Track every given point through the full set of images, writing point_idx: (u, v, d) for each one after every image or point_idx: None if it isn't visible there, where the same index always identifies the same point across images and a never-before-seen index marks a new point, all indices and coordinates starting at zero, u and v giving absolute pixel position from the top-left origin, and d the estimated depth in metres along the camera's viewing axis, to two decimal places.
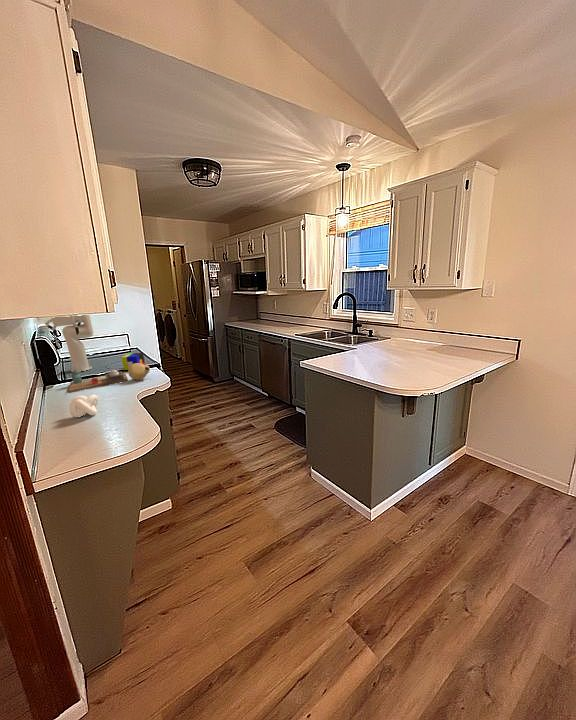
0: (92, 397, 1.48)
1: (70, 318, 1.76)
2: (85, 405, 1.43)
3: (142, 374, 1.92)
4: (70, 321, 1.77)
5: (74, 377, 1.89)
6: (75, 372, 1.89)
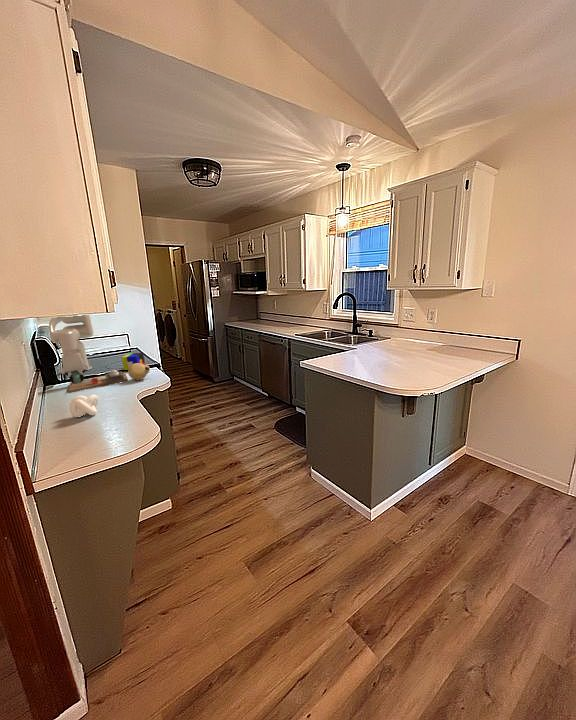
0: (92, 397, 1.48)
1: (80, 364, 1.89)
2: (85, 405, 1.43)
3: (142, 374, 1.92)
4: (80, 367, 1.89)
5: (74, 377, 1.89)
6: (75, 372, 1.89)
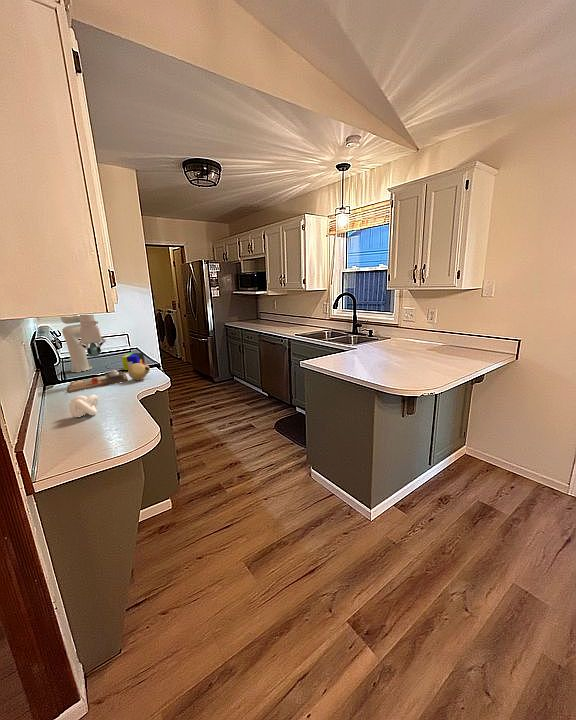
0: (92, 397, 1.48)
1: (97, 336, 1.91)
2: (85, 405, 1.43)
3: (142, 374, 1.92)
4: (97, 339, 1.91)
5: (91, 349, 1.91)
6: (92, 344, 1.91)
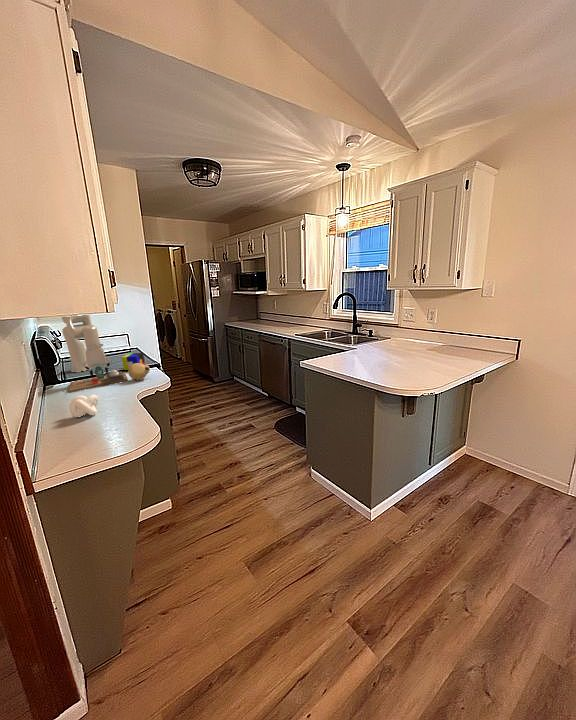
0: (92, 397, 1.48)
1: (102, 358, 1.94)
2: (85, 405, 1.43)
3: (142, 374, 1.92)
4: (102, 361, 1.95)
5: (97, 373, 1.95)
6: (98, 368, 1.95)
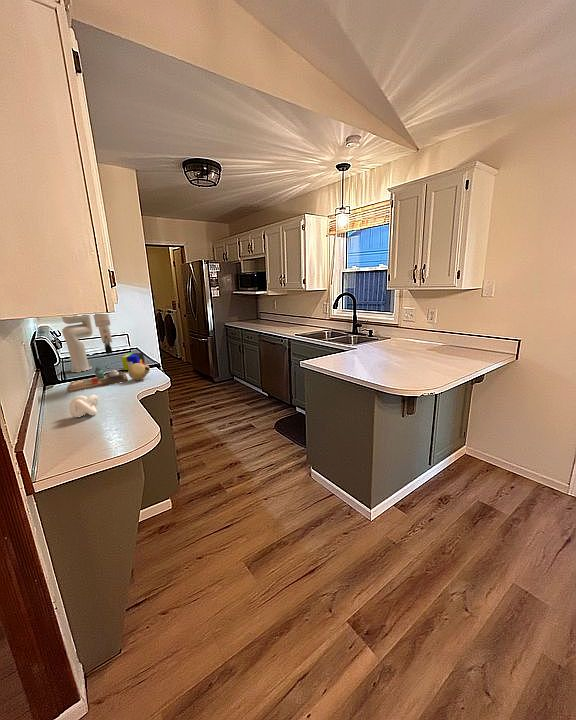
0: (92, 397, 1.48)
1: (101, 337, 1.84)
2: (85, 405, 1.43)
3: (142, 374, 1.92)
4: (102, 340, 1.85)
5: (97, 373, 1.95)
6: (98, 368, 1.95)
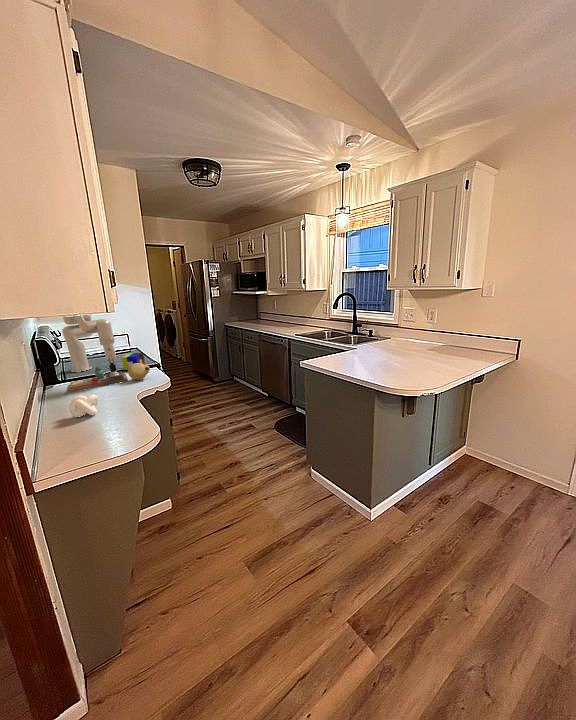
0: (92, 397, 1.48)
1: (105, 355, 1.87)
2: (85, 405, 1.43)
3: (142, 374, 1.92)
4: None
5: (97, 373, 1.95)
6: (98, 368, 1.95)
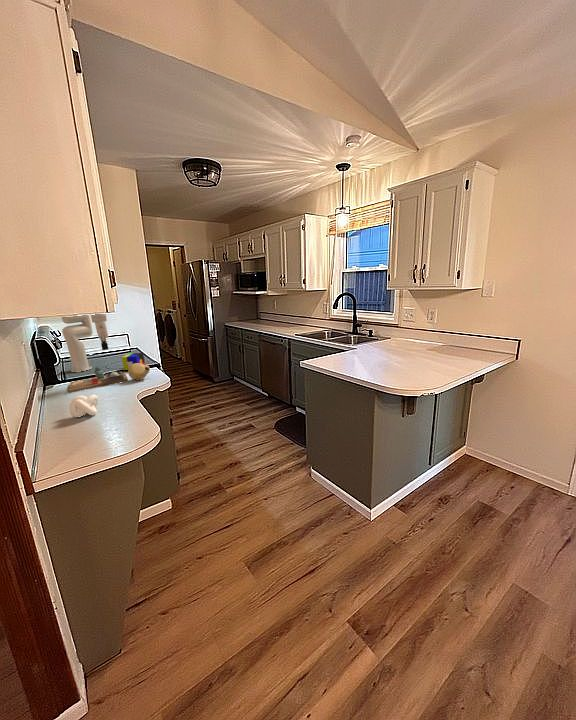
0: (92, 397, 1.48)
1: (97, 333, 1.84)
2: (85, 405, 1.43)
3: (142, 374, 1.92)
4: (98, 336, 1.85)
5: (97, 373, 1.95)
6: (98, 368, 1.95)
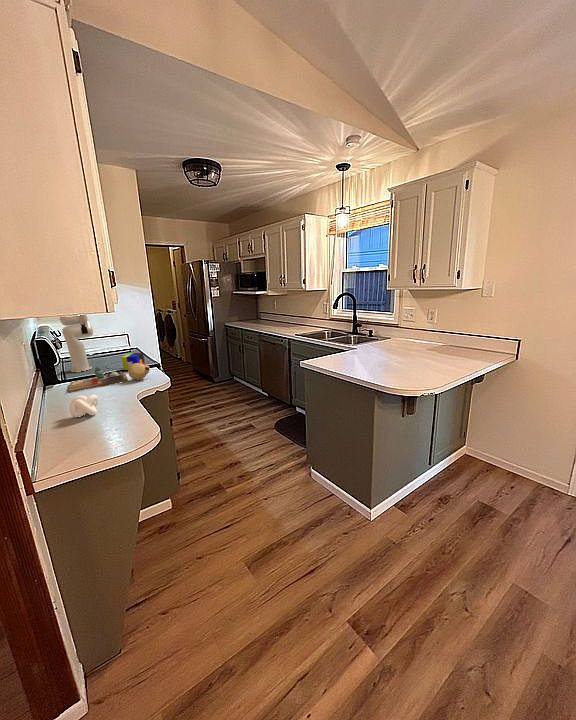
0: (92, 397, 1.48)
1: (76, 317, 1.89)
2: (85, 405, 1.43)
3: (142, 374, 1.92)
4: (77, 319, 1.90)
5: (96, 373, 1.95)
6: (97, 368, 1.95)
